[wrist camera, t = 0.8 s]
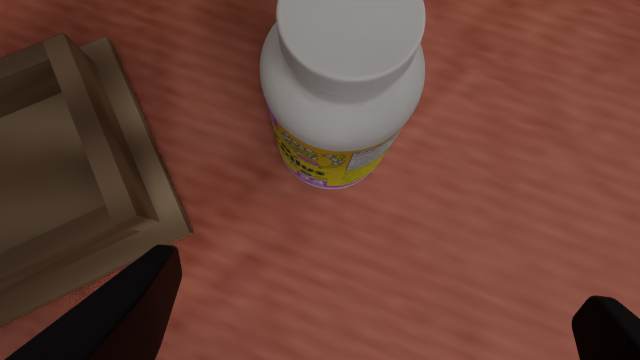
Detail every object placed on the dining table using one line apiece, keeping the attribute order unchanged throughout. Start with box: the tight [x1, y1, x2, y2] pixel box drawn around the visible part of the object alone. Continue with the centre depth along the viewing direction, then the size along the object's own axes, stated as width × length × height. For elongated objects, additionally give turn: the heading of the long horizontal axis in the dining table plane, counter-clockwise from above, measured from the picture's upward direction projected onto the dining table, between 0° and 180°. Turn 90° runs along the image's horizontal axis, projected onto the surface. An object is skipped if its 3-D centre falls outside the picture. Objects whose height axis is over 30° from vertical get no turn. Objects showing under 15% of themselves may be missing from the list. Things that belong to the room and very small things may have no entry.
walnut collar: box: [0, 33, 193, 327], centre depth 22 cm, size 14×14×4 cm
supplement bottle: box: [260, 0, 425, 189], centre depth 18 cm, size 7×7×13 cm
